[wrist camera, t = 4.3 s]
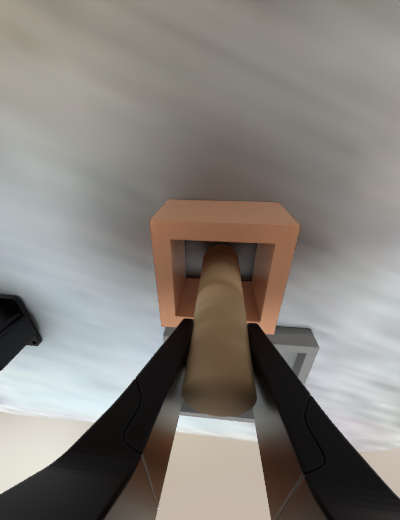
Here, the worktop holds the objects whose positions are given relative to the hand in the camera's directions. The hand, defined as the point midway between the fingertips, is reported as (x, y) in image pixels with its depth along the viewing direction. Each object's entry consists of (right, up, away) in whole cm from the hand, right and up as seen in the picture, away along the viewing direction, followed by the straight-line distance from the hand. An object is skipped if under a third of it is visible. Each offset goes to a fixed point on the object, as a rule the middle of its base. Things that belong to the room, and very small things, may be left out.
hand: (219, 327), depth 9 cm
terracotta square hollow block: (+1, +4, +7) cm, 8 cm away
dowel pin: (+1, +3, +5) cm, 6 cm away
